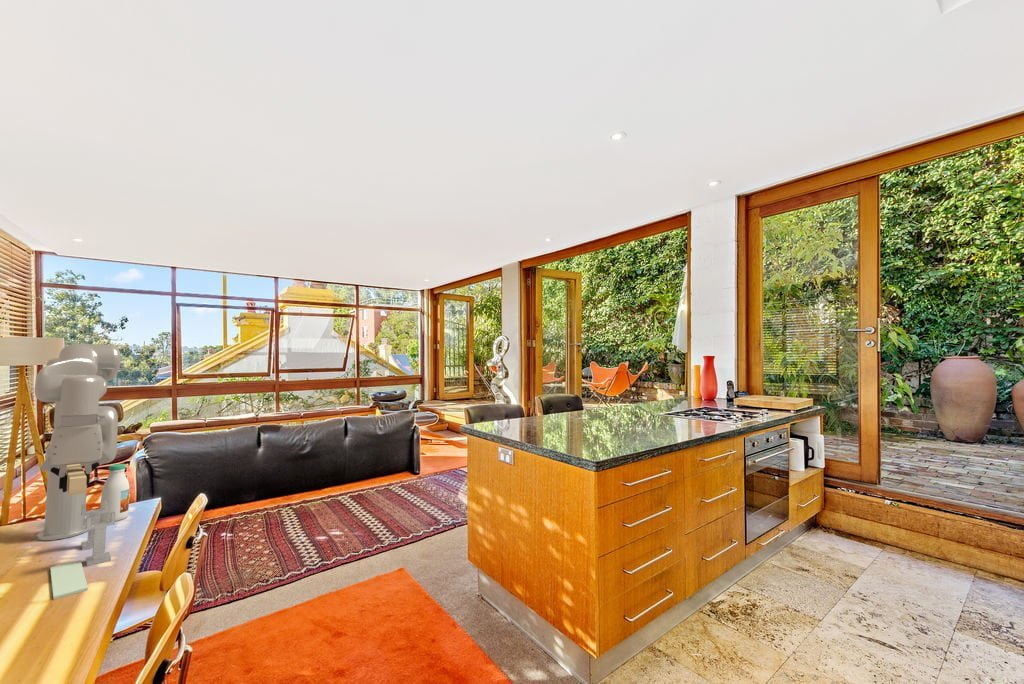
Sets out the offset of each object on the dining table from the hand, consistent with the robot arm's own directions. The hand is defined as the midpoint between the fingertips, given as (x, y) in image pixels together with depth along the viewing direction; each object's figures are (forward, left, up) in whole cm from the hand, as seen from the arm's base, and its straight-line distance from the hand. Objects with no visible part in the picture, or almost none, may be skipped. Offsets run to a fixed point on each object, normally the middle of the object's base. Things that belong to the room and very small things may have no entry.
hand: (74, 489), depth 116 cm
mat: (0, 0, -24) cm, 24 cm away
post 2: (-9, +6, -24) cm, 26 cm away
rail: (0, 0, +1) cm, 1 cm away
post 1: (-25, +6, -24) cm, 35 cm away
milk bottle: (-51, +14, -24) cm, 58 cm away
